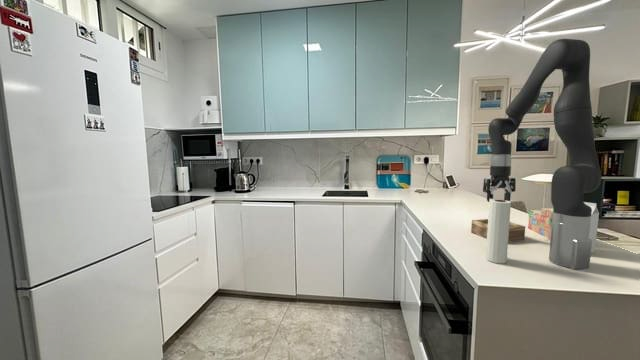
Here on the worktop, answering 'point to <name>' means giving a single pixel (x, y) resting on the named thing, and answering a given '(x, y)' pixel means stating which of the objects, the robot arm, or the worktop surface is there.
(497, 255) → the paper towel roll
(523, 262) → the worktop surface
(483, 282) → the worktop surface
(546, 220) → the stack of blocks
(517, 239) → the wooden tray
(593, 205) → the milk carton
